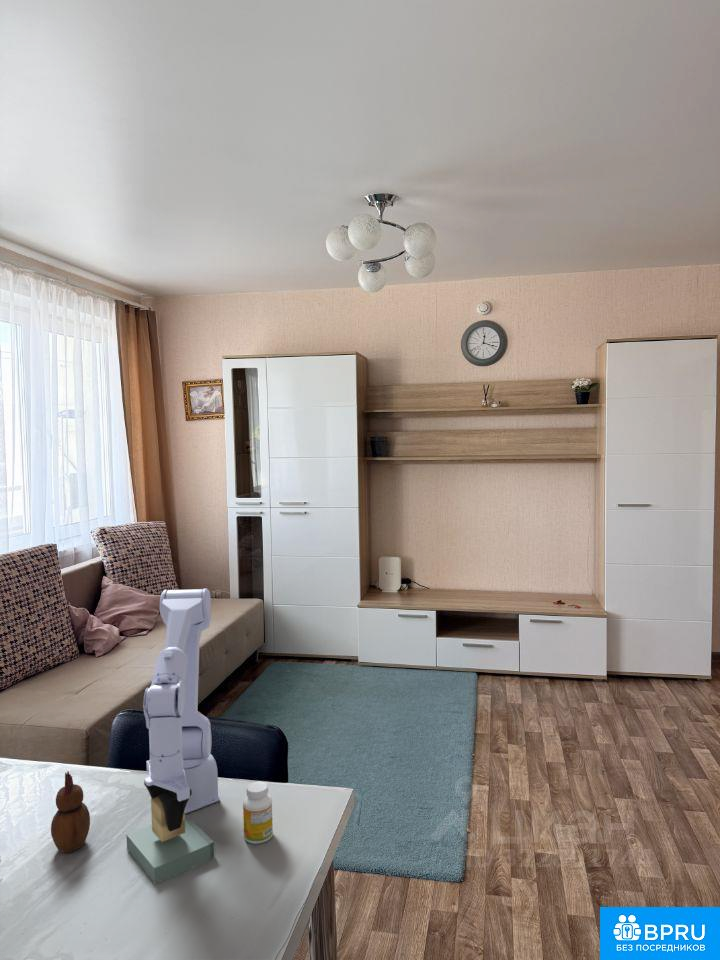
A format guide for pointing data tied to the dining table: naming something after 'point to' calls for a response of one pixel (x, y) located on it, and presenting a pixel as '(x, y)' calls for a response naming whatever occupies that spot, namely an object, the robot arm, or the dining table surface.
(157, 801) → the block
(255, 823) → the supplement bottle
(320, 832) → the dining table surface
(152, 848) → the green flat slab
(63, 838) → the wooden figurine
